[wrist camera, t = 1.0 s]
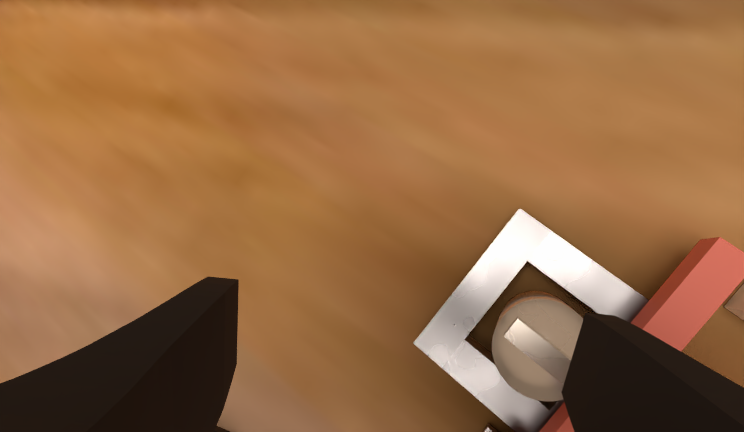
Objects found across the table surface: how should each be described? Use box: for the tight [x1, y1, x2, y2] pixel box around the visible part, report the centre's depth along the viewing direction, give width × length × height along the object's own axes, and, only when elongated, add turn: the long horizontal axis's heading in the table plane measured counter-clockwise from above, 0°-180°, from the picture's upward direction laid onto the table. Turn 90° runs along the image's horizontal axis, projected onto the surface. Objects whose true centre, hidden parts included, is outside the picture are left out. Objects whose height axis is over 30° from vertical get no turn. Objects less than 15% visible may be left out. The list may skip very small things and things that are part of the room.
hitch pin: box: [492, 291, 583, 401], centre depth 20 cm, size 4×4×7 cm
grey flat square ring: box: [414, 208, 649, 432], centre depth 23 cm, size 8×8×2 cm
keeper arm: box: [539, 237, 744, 432], centre depth 19 cm, size 13×3×2 cm, turn 141°
